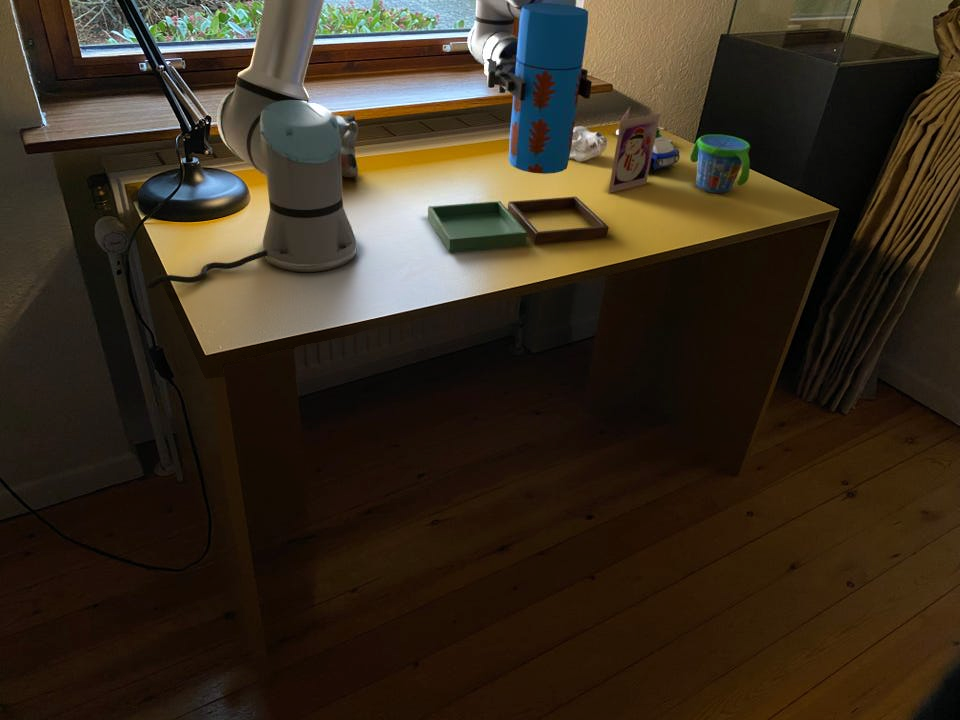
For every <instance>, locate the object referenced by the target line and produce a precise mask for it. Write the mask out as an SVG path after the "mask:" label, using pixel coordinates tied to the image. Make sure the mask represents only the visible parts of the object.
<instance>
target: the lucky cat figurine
mask: <svg viewBox="0 0 960 720" xmlns="http://www.w3.org/2000/svg"><path fill="white" fill-rule="evenodd" d="M334 116H335V117H336V119H337V121H338V125H339V133H340V137H341V170H342V177H345V178H350V179H354V180H355V179H356V178H357V177H358V172H359V167H358V163H357V158H356V145H357V144H356V143H357V137H358V133H359V124H358V123H357V122H356V116H355V115H354V113H353V114H349V115H347V116H345V117H343V116H341V115H334Z"/></svg>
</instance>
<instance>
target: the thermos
mask: <svg viewBox="0 0 960 720" xmlns="http://www.w3.org/2000/svg"><path fill="white" fill-rule="evenodd" d="M588 26H589V11H588V10H587V9H585V8H583V7H579V6H576V7H575V6H570V5H563V4H553V3H531V4H526V5H523V6H522V10H521V15H520V19H519V24H518V47H517V60H516V70H515V75H516V76H517V77H519V78H520V79H521V80H523V81H524V82H525V83H526V90H525V100H522V101H520V100H519V99H518V98H516V97H515V96H514V95H513V94H512V106H511V107H512V108H511V119H510V131H509V144H508V145H509V148H508V149H509V150H508V162H509V164H510V165H511V166H512V167H513V168H515V169H517V170H520V171H522V172H527V173H533V174H542V175H547V174H556V173H561V172H563V171H565V170H567V168H568V165H569V161H570V158H569V156H570V150H571V145H572V138H573V131H574V127H575V122H576V114H577V107H578V100H579V86H580V79H581V71H582V69H583V63H584V56H585V48H586V42H587V41H586V40H587V33H588V28H589V27H588Z"/></svg>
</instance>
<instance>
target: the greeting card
mask: <svg viewBox="0 0 960 720" xmlns="http://www.w3.org/2000/svg"><path fill="white" fill-rule="evenodd" d="M630 109H631V106H629V107H628V109H627V110H626V112H625V113H624V115H623V116H622V118H621V119H620V121H619V127H618V129H619V133H618V135H617V140H616V146H615V151H614V157H613V162H612V168H611V170H612V171H611V175H610V180H609V187H608V194H610V193H614V192H618V191H622V190H625V189H631V188H634V187H638V186H642V185H646V184H647V183H648V177H649V173H650V172H649V167H650V162H651V157H652V152H653V147H654V142H655V137H656V132H657V127H658V126H659V121H660V118H661V117H660V116H661V113H656V114H651V115H645V116H639V117H634V118H629V116H630Z"/></svg>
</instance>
